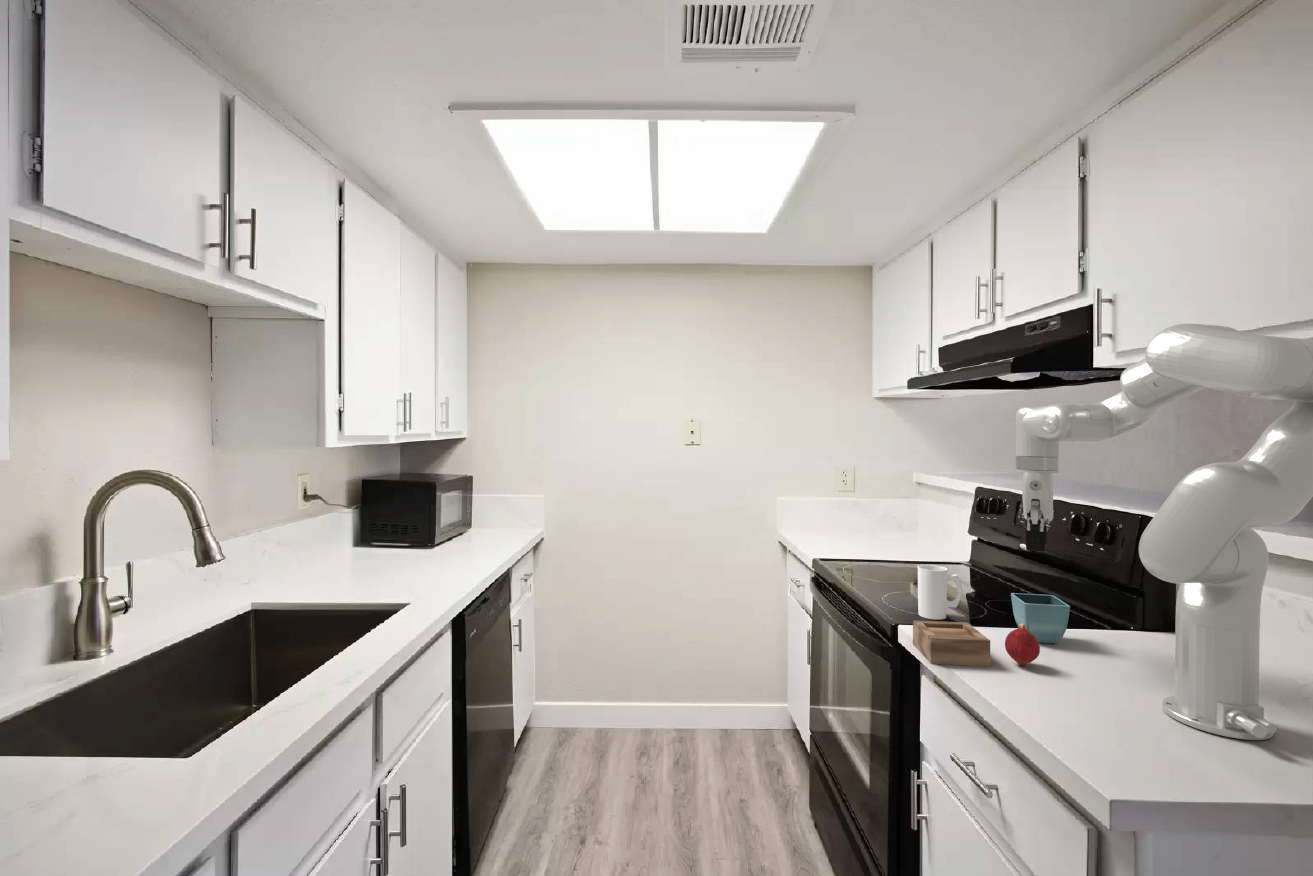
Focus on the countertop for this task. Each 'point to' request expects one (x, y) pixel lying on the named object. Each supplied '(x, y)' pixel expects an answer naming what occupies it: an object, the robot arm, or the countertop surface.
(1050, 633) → the flower pot
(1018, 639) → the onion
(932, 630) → the open walnut box
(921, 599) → the mug
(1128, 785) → the countertop surface
